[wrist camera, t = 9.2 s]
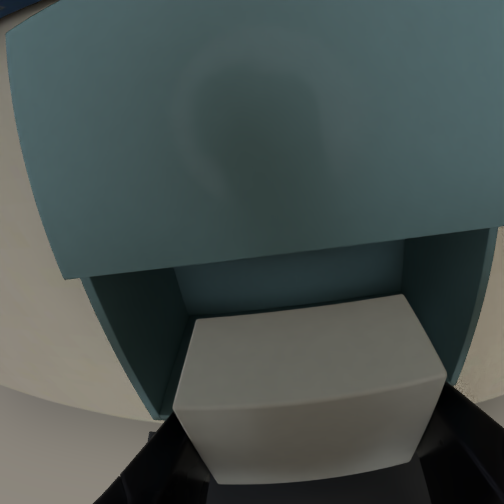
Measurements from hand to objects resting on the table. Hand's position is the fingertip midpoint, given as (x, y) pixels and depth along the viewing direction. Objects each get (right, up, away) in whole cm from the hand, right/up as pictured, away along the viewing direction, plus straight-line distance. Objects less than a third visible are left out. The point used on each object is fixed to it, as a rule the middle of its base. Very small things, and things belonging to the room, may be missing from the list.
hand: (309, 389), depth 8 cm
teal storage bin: (0, +7, +7) cm, 10 cm away
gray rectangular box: (0, +1, +1) cm, 1 cm away
